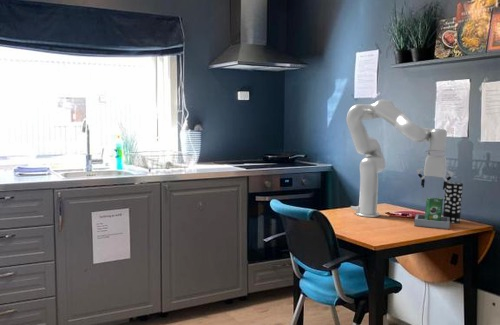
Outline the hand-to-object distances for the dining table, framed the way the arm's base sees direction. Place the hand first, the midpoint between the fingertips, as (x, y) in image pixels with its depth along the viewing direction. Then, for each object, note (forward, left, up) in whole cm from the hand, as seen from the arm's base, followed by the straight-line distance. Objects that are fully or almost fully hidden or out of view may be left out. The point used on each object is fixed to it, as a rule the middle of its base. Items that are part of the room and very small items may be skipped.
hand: (433, 188), depth 250 cm
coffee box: (+1, 0, -18) cm, 18 cm away
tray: (+1, 0, -18) cm, 18 cm away
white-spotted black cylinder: (+10, +15, -19) cm, 26 cm away
